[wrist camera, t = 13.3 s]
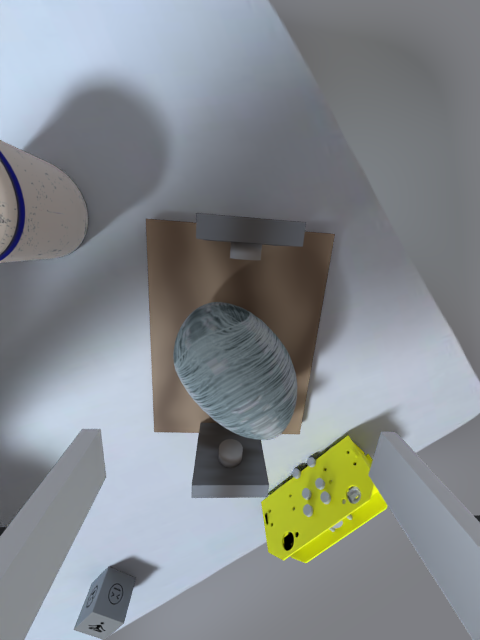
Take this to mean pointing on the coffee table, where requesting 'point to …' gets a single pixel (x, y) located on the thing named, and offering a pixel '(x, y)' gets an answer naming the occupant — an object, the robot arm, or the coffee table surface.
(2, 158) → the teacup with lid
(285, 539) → the yellow toy chassis
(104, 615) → the dice cube
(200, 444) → the roll holder
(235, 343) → the grey egg-shaped piece
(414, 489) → the robot arm
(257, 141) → the coffee table surface
